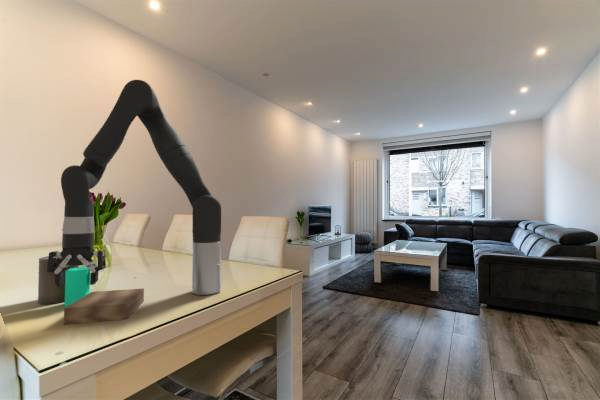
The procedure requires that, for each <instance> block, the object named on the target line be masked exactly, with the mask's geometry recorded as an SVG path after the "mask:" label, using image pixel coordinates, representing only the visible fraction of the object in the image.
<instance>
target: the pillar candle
mask: <svg viewBox="0 0 600 400" xmlns="http://www.w3.org/2000/svg"><path fill="white" fill-rule="evenodd" d="M48 257H49V255H47V256H42V257H39V258H38V282H37V283H38V284H37V286H38V293H37V295H38V297H37V302H38V304H39V305H53V304H58V303H59V304H60V303H65V271H66V270H69V269H72V268H78V265H73V266H70V265H69V266H68V267H67V268H66V269H65V270H64V271H63V273H64V285H63V286H61V287H57V285H56V284H55V273H52V272H47V266H48ZM63 260H64V259H63V258H62V257H61V256H60V257H59V258H58V263H57V268H58V267H59V265H60V264H61V263H62V262H63Z"/></svg>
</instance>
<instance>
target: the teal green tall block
mask: <svg viewBox="0 0 600 400" xmlns="http://www.w3.org/2000/svg"><path fill="white" fill-rule="evenodd" d="M90 273H91V271H90V270H89V269H88V268H87V267H86V266H80V265H78V268H72V269H69V270H66V271H65V302H64V307H65V308H66V307H67V306H69V305H71V304H72V303H74V302H76V301H77V300H79V299H81V298H82V297H84V296H86V295H87V294H89V293H91V285H90Z"/></svg>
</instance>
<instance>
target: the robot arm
mask: <svg viewBox="0 0 600 400" xmlns="http://www.w3.org/2000/svg"><path fill="white" fill-rule="evenodd" d="M118 96H119V97H118V98H117V101H116V102H115V104H114V106H113V108H112V110H111V111H110V113H109V115H108V117H107V119H105V121H104V123H103V124H102V126H101V128H100V129H99V130H98V131H97V133H96V135H95V136H94V137H93V138H92V139H91V140H90V142H89V143H88V145H87V146H86V147H85V148H84V150H83V153H82V155H83V157H84V159H83V160H82V162H81V164H80V165H70V166H68V167H66V168H65V169H63V171H62V174H61V178H60V185H61V190H62V195H63V200H64V214H63V216H64V217H63V222H62V230H61V231H62V237H61V239H62V240H61V241H62V242H61V247H62V250H61V251H58V250H54V251H50V252H49V253H48V256H49V257H48V266H47V272H52V273H55V284H56V285H57V287H61V286H63V285H64V273H63V271H64V270H65V269H66V268H67V267H68V266H69V265H70V266H73V265H79V266H83V265H84V267H86V268H88V269H89V270H90V286H94V285H95V284H96V283H97V282H98V281H99V272H100V271H102V270H104V269H106V265H107V263H106V261H107V259H106V250H105V249H100V250H94V245H95V244H94V242H95V241H94V240H95V220H94V218H95V217H94V211H95V210H94V209H95V202H94V200H93V199H92V198H91V197H90V195H91V194H90V190H92V189H93V188H95V187H96V186H97V185H98V184H99V183H100V180H101V179H102V178H103V175H104V172H105V171H106V169H107V166H108V164H109V163H110V162H111V160H112V159H113V157H114V156H115V155H116V154H117V152H118V151H119V149H120V148H121V145H122V144H123V142H124V140H125V137H126V136H127V132H128V130H129V128H130V126H131V124H132V123H133V121H135V118H136V117H138V119H139V121H140V122H141V123H142V124H143V126H144V127H145V129H146V131H147V132H148V134H149V136H150V137H149V138H150V139H151V141H152V144H153V146H154V149H155V151H156V153H157V155H158V157H159V158H160V160H161V162H162V163H163V165H164V167H165V169H167V171H168V173H169V174H170V175H171V176H172V178H173V179H174V180H175V182H176V183H177V184H178V185H179V187H181V189H182V190H183V192H184V194H185V195H186V197H187V199H188V201H189V203H190V206H191V208H192V233H191V234H192V269H191V270H192V274H191V275H192V277H191V278H192V279H191V280H192V281H191V282H192V285H191V288H192V289H191V291H192V294H193V295H197V296H206V295H213V294H219V293H221V282H222V281H221V279H222V277H221V276H222V275H221V272H222V267H221V265H222V263H221V249H222V248H221V245H222V243H221V241H222V240H221V239H222V238H221V237H222V235H221V234H222V205H221V203H220V200H218V198H217V197H215V196H214V195H213V194H212V193H211V191H210V189H208V187H207V186H206V184H205V182H204V181H203V179H202V176H201V174H200V172H199V169H198V166H197V164H196V162H195V160H194V158H193V156H192V154H191V153H190V151H189V149H188V147H187V146H186V144H185V142H184V141H183V139H182V138H181V137H180V135H179V134H178V133H177V132H176V130H175V129H174V128H173V127H172V125H171V124H170V122H169V121H168V119H167V117H166V116H165V113H164V112H163V109H162V107H161V104H160V102H159V99H158V96H157V95H156V93H155V90H154V88H152V86H151V85H150V84H149V83H148V82H146V81H145V80H142V79H132V80H130V81H128V82H127V83H126V84H125V85H124V86H123V88H122V90H121V92H120V94H119V95H118ZM60 256H61V257H62V258H63V259H64V260H63V262H62V263H61V264H60V265H59V267H58V268H57V263H58V258H59V257H60ZM94 256H95V258H97V259H96V260H97V264H96V261H95V260H94V259H93V257H94Z"/></svg>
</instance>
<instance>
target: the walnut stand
mask: <svg viewBox="0 0 600 400" xmlns="http://www.w3.org/2000/svg"><path fill="white" fill-rule="evenodd" d="M144 297H145V289H144V288H131V289H128V288H127V289H117V290H116V289H114V290H100V291H99V290H98V291H97V290H96V291H90V293H89V294H87V295H86V296H84V297H82V298H81V299H79V300H77V301H76V302H74V303H72V304H71V305H69V306H67V307H66V306H65V307H64V309H63V325H73V324H74V325H75V324H84V323H85V324H87V323H94V322H95V323H97V322H99V323H100V322H109V321H119V320H120V321H121V320H127V319H129V318H130V316H132V314H133V313H134V312H135V311H136V310H138V308H139V307H140V306H141V305H142V304H143V303H144V301H145V299H144Z"/></svg>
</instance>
